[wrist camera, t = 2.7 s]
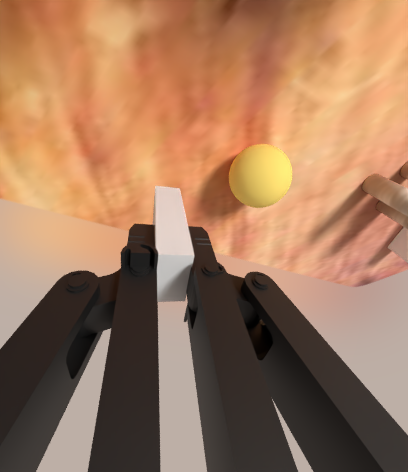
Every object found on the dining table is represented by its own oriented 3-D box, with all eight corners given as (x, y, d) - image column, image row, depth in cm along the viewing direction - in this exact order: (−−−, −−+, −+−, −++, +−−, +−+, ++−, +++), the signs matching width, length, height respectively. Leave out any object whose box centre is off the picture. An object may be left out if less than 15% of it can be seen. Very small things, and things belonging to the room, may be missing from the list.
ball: (230, 132, 22) (251, 150, 17) (284, 141, 24) (316, 160, 19) (216, 189, 25) (231, 216, 21) (264, 194, 27) (288, 221, 22)
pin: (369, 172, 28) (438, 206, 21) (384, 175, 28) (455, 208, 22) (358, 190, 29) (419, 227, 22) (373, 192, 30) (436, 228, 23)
